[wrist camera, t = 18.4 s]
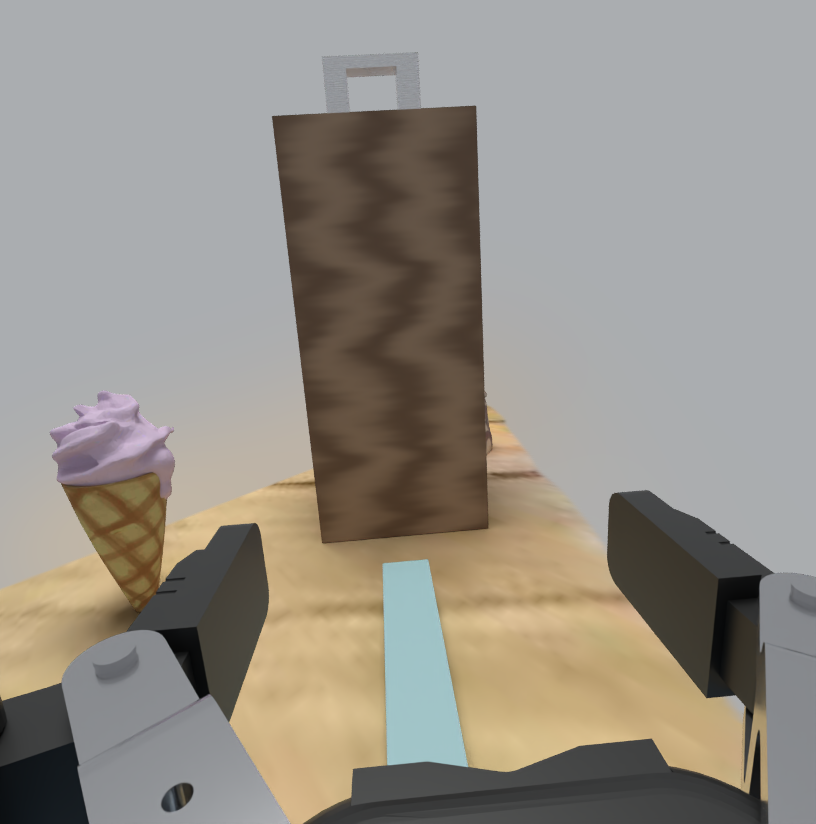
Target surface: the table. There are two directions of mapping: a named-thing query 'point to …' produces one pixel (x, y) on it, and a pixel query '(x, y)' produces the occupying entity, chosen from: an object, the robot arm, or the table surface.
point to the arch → (371, 65)
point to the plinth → (388, 316)
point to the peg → (417, 671)
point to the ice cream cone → (119, 488)
